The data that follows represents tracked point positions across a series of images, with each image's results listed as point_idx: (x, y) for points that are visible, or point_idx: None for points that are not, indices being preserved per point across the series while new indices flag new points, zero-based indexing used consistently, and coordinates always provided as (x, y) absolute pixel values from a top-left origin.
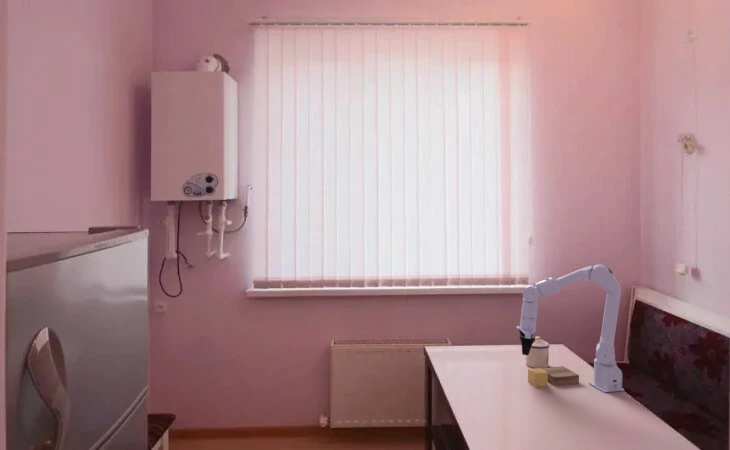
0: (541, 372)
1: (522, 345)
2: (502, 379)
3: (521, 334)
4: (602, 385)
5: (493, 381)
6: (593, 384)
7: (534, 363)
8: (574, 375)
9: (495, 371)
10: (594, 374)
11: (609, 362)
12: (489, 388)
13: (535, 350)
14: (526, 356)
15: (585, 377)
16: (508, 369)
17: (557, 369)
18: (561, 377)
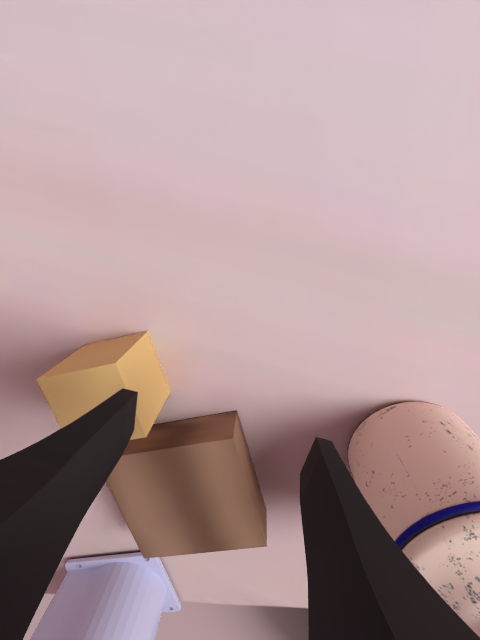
0: (65, 419)
1: (29, 449)
2: (175, 195)
3: (363, 603)
4: (84, 581)
5: (133, 123)
6: (127, 559)
7: (366, 440)
8: (136, 542)
9: (324, 180)
10: (108, 610)
11: None
12: (4, 65)
13: (396, 517)
14: (447, 433)
15: (224, 564)
16: (355, 278)
17: (217, 509)
18: (111, 487)
